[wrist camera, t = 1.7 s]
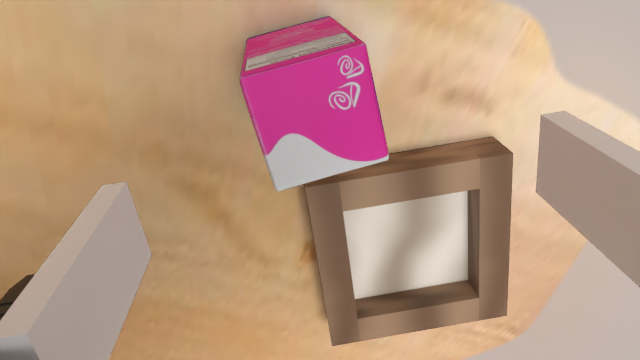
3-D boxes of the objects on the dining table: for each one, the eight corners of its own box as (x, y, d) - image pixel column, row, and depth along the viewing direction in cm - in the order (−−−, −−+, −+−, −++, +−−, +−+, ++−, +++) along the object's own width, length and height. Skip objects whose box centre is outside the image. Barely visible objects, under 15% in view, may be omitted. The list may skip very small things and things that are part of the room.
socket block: (327, 318, 41) (332, 346, 38) (302, 168, 35) (305, 187, 32) (490, 290, 41) (507, 315, 38) (493, 136, 35) (513, 153, 32)
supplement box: (353, 99, 33) (392, 165, 22) (270, 121, 33) (269, 198, 23) (334, 12, 30) (367, 41, 20) (243, 37, 30) (229, 79, 20)
